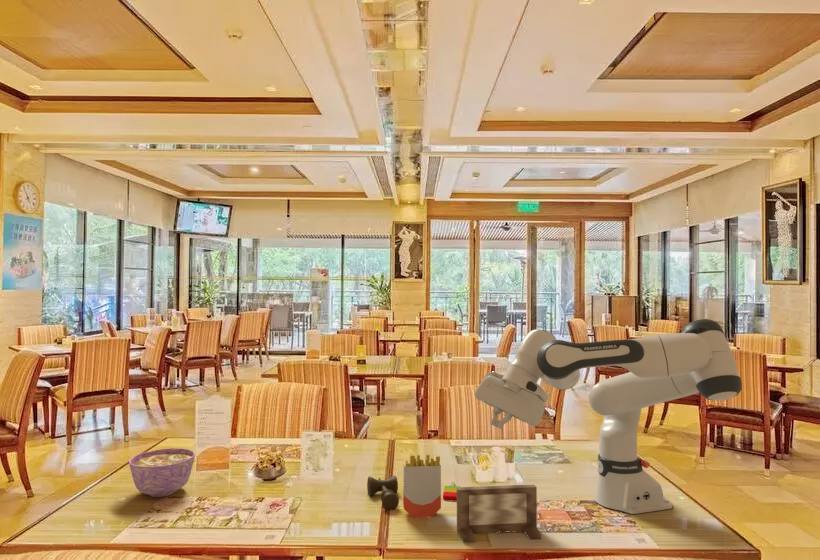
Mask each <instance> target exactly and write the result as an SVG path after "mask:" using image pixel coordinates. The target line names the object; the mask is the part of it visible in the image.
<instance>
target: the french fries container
mask: <svg viewBox="0 0 820 560" xmlns="http://www.w3.org/2000/svg"><path fill="white" fill-rule="evenodd" d="M409 455H410V457H409V461H408V460H405V466H403V488H402V489H403V490H402V503H403V505H402V506H403V510H404V511H405V512H406V513H407V514H408V515H410V516H411V517H412V518H432V517H434V516H435V515H436V513H437V512H439V511H440V509H442V466H441V456H440V455H436V456H435V459H434V457H430V454H426V455H425V456H426V457H425V458H426V459H425V460H424V459H422V458H421V455H420V454H417V455H416V454H409ZM424 462H425V463H424Z"/></svg>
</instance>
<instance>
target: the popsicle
mask: <svg viewBox="0 0 820 560" xmlns="http://www.w3.org/2000/svg"><path fill="white" fill-rule="evenodd" d="M455 485H456V483H455V481H454V482H453V481H452V482H451V485H444V487H443V493H442V500H443V499H444V500H443V501H447V500H453V502H457V487H461V486H455Z"/></svg>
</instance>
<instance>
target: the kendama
mask: <svg viewBox="0 0 820 560" xmlns="http://www.w3.org/2000/svg"><path fill="white" fill-rule="evenodd" d="M366 482H367V483H366V489H367V490H366V491H367V494H368V496H369V497H371V496H373V495H375V494H376V493H378V492H381V495H380V500H381V502H382V507H383V508H384V509H385V510H386V511H390V510H391V509H392V510H395V509H397V507H399V503H400V499H399V496H398V495H397V493H398V490H399V483H398V478H397V476H396V475H393V476H391V477H389V478H387V479H381V478H380V477H378V479H376V478H374V477H372V476H370V475H369V476H368V477H367V481H366Z"/></svg>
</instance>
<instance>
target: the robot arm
mask: <svg viewBox="0 0 820 560" xmlns="http://www.w3.org/2000/svg"><path fill="white" fill-rule="evenodd" d="M599 367H600V368H602V367H621V368H623V369H625V370H627V371H628V372H626V373H623V374H619V375H615V376H612V377H608V378H605V379H602V380H600V381H598V382H597V383H596V384H594V386H593V387H591V389H590V390H589V392H588V403H589V405H590V407H591V409H592V410H593V411H594V412H595V413H597V414H599V415H601V416H603V420H602V422H601V425H600V427H599V433H598V435H599V438H598V439H599V441H598V442H599V445H598V446H599V453H598V454H597V455H598V456H597V471H598V477H597V478H598V480H597V487H596V490H595V493H594V497H593V499H594V501H595V503H597V504H599V505H600V506H602V507H605V508H608V509H612V510H614V511H615V510H616V511H621V512H623V513H627V514H631V515H636V514H637V515H638V514H644V513H651V512H657V511H658V512H659V511H665V510H671V509H672V508H673V505H672V502H671V501H670V499H669V498H668V497H666V496H664V491H663V487H662V485H661V484H660V482H659V481H658V480H657V479H655V477H653V476H652V475H650V474H649V473H648V472H646V471H645V470H644V468H645V469H648V468H649V467H650V462H648V460H645V459H641V458H640V457H638V430H639V429H638V428H639V423H640V418H641V413H642V409H644V408H648V407H652V406H655V405H659V404H662V403H665V402H670V401H675V400H678V399H682V398H685V397H689V396H693V395H696V394H700V395H701V396H702V397H703V398H705V399H706V400H708V401H718V402H719V401H727V400H731V399H732V398H735V397H736V396H738V395H739V394H740V393H741V391H742V387H743V385H742V377H740V375H739V370H738V366H737V362H736V358H735V355H734V353H733V352H732V350H731V347H730V345H729V342H728V341H727V338H726V337H725V331H724V329H723V327H722V326H721V325H720V324H719V322H717V321H715V320H712V319H708V318H705V319H704V318H703V319H697V320H692V321H691V322H688V323H687V324H686V325H684V326H683V328H682V329H681V330H680V332H675V333H674V332H673V333H672V332H670V333H662V334H655V335H648V336H643V337H636V338H628V339H615V340H604V341H603V340H602V341H600V340H599V341H592V342H591V341H590V342H571V341H567V340H563V339H562V340H561V339H557V338H556V335H555V334H553V333H551V332H549V331H547V330H544V329H538V328H537V329H532V330H530V331H529V332H528V333H527V334H526V335H525V337H524V338H523V339H522V341H521V343H520V344H519V346H518V348H517V350H516V352H515V356H514V359H513V360H512V361H511V362H510V363H509V365H508V366H507V369H506V370H505V372H504V374H501V373H497V372H496V371H490V372H487V373H486V374H485V375H484V377H483V380H482V381H481V382H480V383H479V385H478V386H477V387H476V389H475V391H474V398H476V399H477V400H478V401H480V402H482V403H484V404H486V405H488V406H490V407H492V408H493V409H492V418H491V420H490V424H491V425H492V426H493V427H495V428H497V429H500V430H502V429H503V427H504V425H505V424H506V423H508V422H510V421H511V420H512V417H513V418H515V419H517V420H519V421H521V422H523V423H525V424H527V425H529V426H531V427H536V426H538V425H540V423H541V421H542V418H543V416H544V413H545V410H546V402H547V401H548V400H549V395H548V393H547V392H546V391H545V390H544V389H543V388H542V387H541V385H540V384H538V381H539V379H542V380H543V381H544V382H546V383H547V384H548V385H549V386H551V387H552V388H555V389H557V390H560V391H561V390H563V391H566V390H570V389H572V388H573V387H575V386H576V384H577V383H578V382H579V379H580V376H581V375H580V374H581V372H580V370H582V369H589V368H590V369H591V368H599ZM502 412H503V413H504V414H503V416H504V417H503V418H501V419H498V417H499V415H501V413H502Z"/></svg>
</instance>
